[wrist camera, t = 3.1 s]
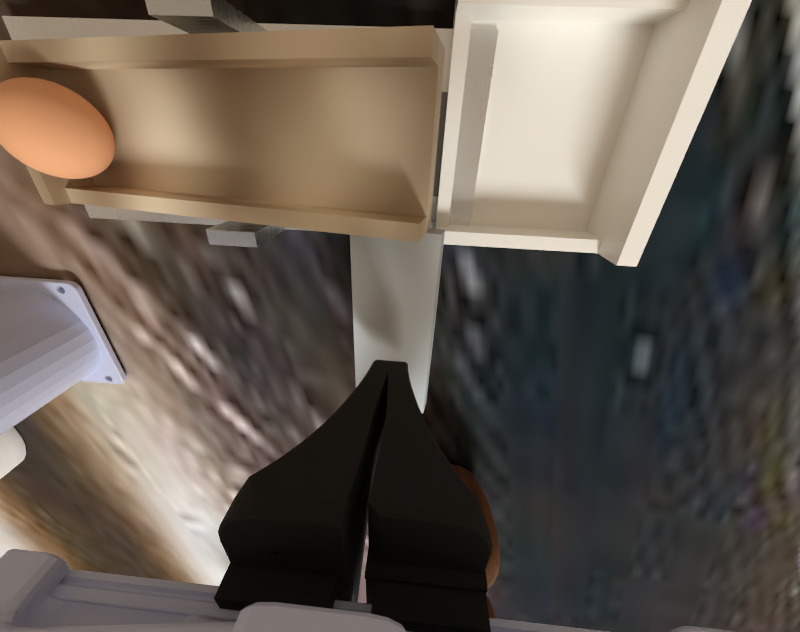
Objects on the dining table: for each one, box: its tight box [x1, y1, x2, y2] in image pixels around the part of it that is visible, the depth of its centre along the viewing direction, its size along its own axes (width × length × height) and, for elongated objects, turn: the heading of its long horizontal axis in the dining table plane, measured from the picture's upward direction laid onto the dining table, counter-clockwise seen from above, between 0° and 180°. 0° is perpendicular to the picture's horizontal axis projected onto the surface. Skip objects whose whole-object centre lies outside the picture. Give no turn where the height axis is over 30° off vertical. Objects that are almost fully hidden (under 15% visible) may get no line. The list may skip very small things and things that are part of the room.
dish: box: [435, 0, 752, 266], centre depth 12 cm, size 8×9×4 cm
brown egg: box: [0, 77, 115, 179], centre depth 12 cm, size 3×3×3 cm
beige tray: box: [0, 25, 445, 413], centre depth 13 cm, size 17×15×3 cm
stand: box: [2, 0, 499, 247], centre depth 13 cm, size 20×8×4 cm, turn 88°
